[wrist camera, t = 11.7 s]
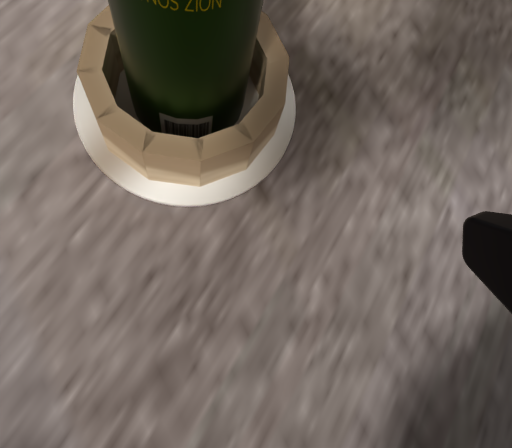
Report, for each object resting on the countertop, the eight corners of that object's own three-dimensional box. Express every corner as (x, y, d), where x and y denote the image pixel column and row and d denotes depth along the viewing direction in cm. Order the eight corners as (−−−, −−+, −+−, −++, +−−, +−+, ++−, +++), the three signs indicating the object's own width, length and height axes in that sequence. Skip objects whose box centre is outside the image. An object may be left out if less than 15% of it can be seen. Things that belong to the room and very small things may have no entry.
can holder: (333, 92, 25) (354, 52, 22) (208, 252, 22) (211, 233, 19) (170, -21, 26) (166, -76, 23) (25, 117, 23) (-2, 76, 20)
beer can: (251, 146, 23) (305, -62, 12) (140, 159, 22) (85, -52, 11) (232, 53, 25) (265, -214, 13) (127, 61, 24) (66, -216, 12)
